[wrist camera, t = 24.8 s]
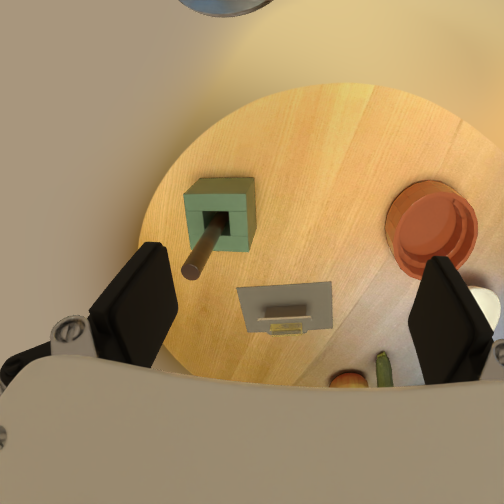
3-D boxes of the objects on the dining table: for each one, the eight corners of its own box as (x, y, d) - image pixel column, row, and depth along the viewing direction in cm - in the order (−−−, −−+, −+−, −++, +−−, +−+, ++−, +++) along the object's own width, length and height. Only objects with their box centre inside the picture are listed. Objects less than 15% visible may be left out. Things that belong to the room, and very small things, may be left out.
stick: (221, 199, 50) (179, 263, 33) (234, 199, 50) (198, 264, 33) (222, 211, 52) (182, 279, 34) (235, 211, 51) (200, 281, 34)
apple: (359, 361, 65) (362, 389, 58) (372, 381, 68) (375, 407, 61) (321, 375, 69) (321, 402, 62) (337, 393, 72) (338, 419, 65)
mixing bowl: (390, 175, 44) (401, 187, 39) (470, 185, 42) (486, 197, 36) (378, 260, 52) (385, 279, 46) (451, 263, 49) (463, 281, 44)
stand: (199, 178, 49) (183, 194, 42) (254, 177, 48) (246, 193, 41) (205, 227, 54) (190, 250, 47) (256, 228, 52) (249, 252, 45)
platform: (332, 328, 61) (334, 351, 55) (247, 332, 65) (242, 354, 59) (331, 281, 55) (333, 304, 50) (236, 287, 59) (229, 309, 53)
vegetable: (389, 358, 63) (402, 431, 46) (372, 363, 65) (381, 437, 48) (387, 347, 62) (401, 422, 45) (369, 352, 63) (379, 428, 46)
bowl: (404, 346, 61) (409, 367, 56) (418, 273, 52) (428, 294, 46) (475, 335, 57) (484, 354, 51) (498, 265, 47) (512, 283, 42)
